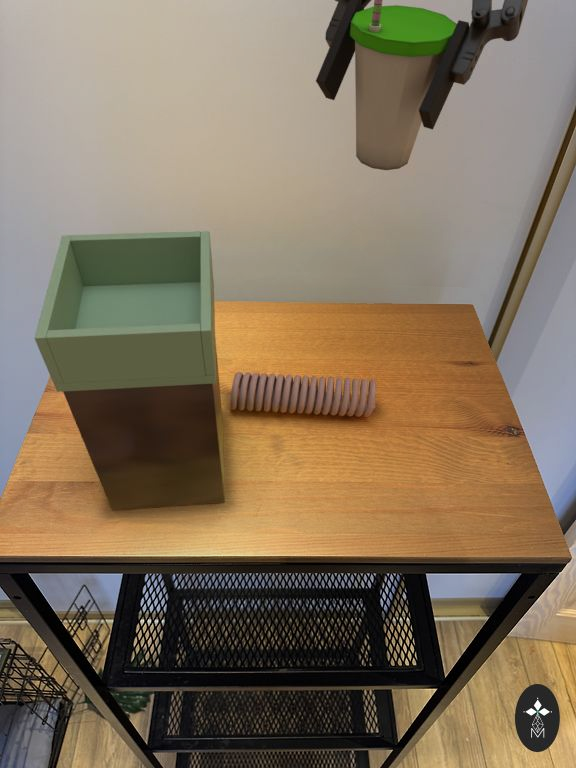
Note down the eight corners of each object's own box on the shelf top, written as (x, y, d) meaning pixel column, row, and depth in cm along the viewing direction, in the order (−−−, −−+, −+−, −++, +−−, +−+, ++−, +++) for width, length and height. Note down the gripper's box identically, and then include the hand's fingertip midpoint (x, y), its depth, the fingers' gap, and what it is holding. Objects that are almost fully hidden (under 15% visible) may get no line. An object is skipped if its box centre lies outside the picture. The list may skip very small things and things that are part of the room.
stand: (222, 415, 70) (210, 286, 55) (225, 502, 62) (212, 381, 47) (121, 421, 69) (81, 291, 53) (111, 510, 61) (61, 389, 46)
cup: (421, 137, 52) (465, -69, 41) (434, 182, 47) (487, -39, 36) (335, 133, 52) (355, -74, 41) (339, 178, 47) (363, -44, 36)
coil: (379, 371, 69) (231, 363, 69) (382, 398, 66) (226, 389, 66) (374, 398, 72) (232, 390, 73) (376, 425, 69) (227, 417, 69)
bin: (213, 284, 55) (209, 230, 50) (216, 383, 47) (211, 330, 42) (78, 289, 54) (61, 235, 49) (56, 392, 45) (34, 338, 41)
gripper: (651, -145, 40) (506, 163, 44) (387, -175, 47) (278, 94, 50) (682, -258, 33) (506, 119, 37) (367, -274, 40) (241, 46, 43)
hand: (374, 104), depth 43 cm, fingers closed on cup, 8 cm apart
